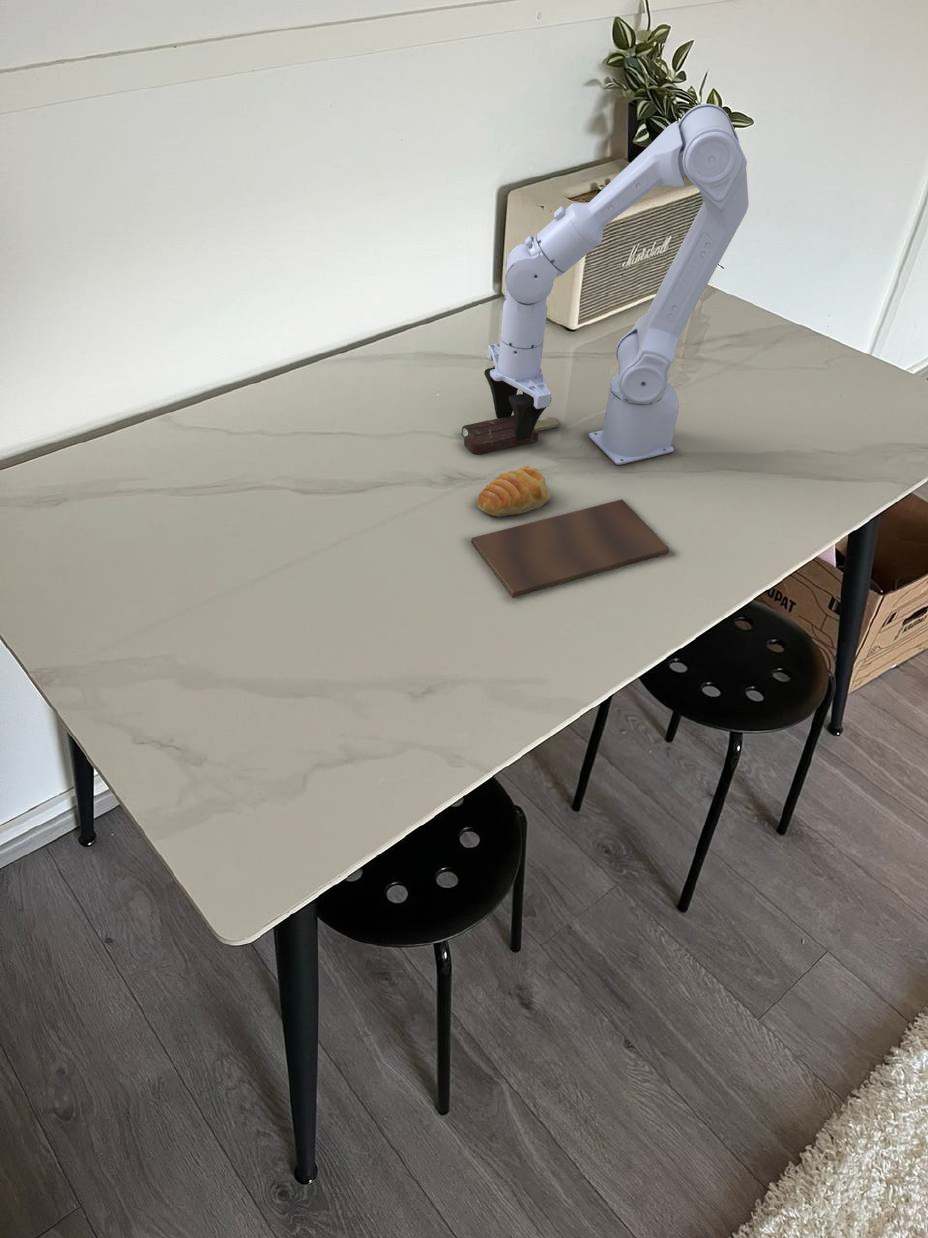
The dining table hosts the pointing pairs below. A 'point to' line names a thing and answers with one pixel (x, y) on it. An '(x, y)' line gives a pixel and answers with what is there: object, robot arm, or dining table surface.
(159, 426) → the dining table surface
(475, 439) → the ice cream bar
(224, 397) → the dining table surface
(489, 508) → the pastry
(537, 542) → the walnut board
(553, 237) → the robot arm
